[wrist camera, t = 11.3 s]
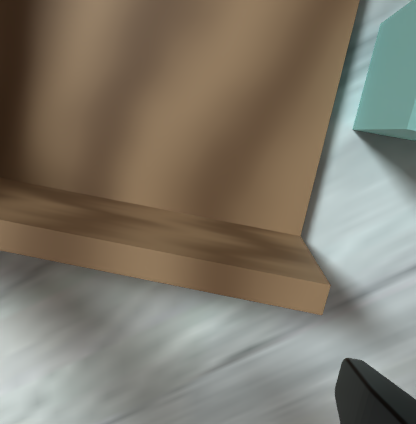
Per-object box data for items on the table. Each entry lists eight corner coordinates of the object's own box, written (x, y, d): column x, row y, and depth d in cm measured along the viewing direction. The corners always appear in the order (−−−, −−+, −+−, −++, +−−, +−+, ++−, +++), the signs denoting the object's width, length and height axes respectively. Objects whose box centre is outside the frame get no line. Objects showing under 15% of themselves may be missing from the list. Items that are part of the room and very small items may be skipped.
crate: (-53, 184, 21) (-195, 211, 14) (-48, -226, 16) (-252, -483, 9) (292, 252, 20) (322, 315, 13) (394, -156, 16) (516, -378, 9)
